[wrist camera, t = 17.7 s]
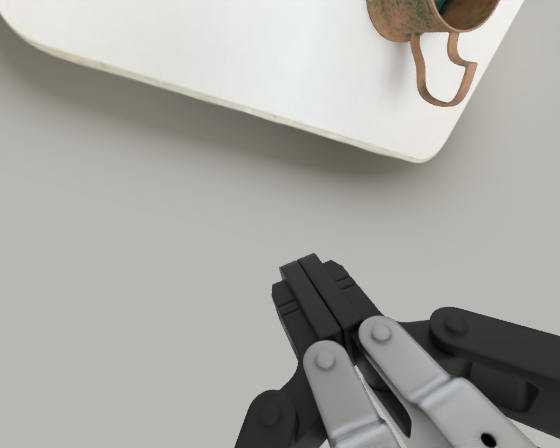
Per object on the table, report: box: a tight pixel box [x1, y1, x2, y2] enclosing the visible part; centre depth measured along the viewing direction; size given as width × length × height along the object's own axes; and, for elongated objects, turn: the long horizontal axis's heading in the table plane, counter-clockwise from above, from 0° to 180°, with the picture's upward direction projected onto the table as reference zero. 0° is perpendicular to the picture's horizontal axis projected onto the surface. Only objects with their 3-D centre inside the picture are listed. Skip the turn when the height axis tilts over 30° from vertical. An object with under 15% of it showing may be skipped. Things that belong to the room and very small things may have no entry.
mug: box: [367, 0, 500, 107], centre depth 33 cm, size 12×18×12 cm, turn 179°
